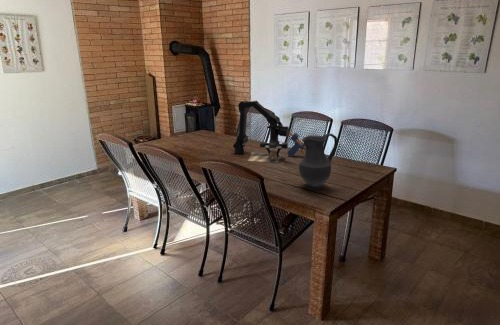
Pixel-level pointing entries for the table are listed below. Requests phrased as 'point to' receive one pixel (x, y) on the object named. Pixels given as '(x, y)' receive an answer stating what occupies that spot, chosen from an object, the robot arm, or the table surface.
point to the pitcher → (316, 161)
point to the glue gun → (296, 145)
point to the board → (262, 157)
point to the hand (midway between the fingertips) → (273, 157)
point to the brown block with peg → (273, 155)
